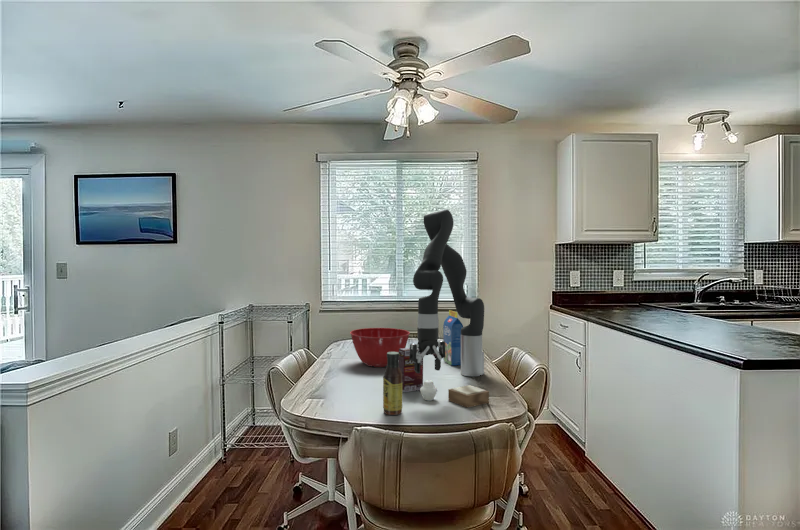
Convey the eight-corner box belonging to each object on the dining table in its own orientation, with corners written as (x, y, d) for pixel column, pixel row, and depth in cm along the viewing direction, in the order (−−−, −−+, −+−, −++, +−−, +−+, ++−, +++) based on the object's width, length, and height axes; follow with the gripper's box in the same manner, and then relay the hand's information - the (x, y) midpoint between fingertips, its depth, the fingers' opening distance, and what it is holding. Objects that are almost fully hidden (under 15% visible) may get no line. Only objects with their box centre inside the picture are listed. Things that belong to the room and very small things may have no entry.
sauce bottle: (382, 410, 164) (382, 350, 164) (401, 409, 164) (401, 350, 164) (383, 416, 157) (383, 354, 157) (403, 416, 158) (403, 354, 158)
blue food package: (451, 366, 230) (451, 312, 230) (443, 360, 242) (443, 310, 242) (463, 365, 232) (463, 312, 231) (455, 360, 243) (455, 309, 243)
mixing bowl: (420, 362, 240) (420, 330, 240) (388, 373, 216) (388, 338, 215) (373, 355, 255) (373, 326, 255) (337, 366, 231) (337, 333, 231)
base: (469, 396, 180) (469, 384, 180) (489, 402, 172) (489, 390, 172) (448, 400, 175) (448, 388, 175) (467, 407, 167) (467, 394, 167)
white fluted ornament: (418, 397, 179) (418, 378, 179) (434, 396, 180) (434, 377, 180) (422, 402, 173) (422, 382, 173) (439, 401, 174) (439, 381, 174)
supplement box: (403, 392, 185) (403, 350, 185) (398, 389, 189) (397, 348, 189) (423, 390, 189) (423, 348, 189) (417, 387, 193) (417, 346, 193)
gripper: (437, 323, 183) (437, 367, 183) (405, 326, 175) (405, 371, 175) (450, 326, 177) (449, 371, 177) (417, 328, 169) (417, 376, 169)
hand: (427, 371), depth 176 cm, fingers open, 8 cm apart
